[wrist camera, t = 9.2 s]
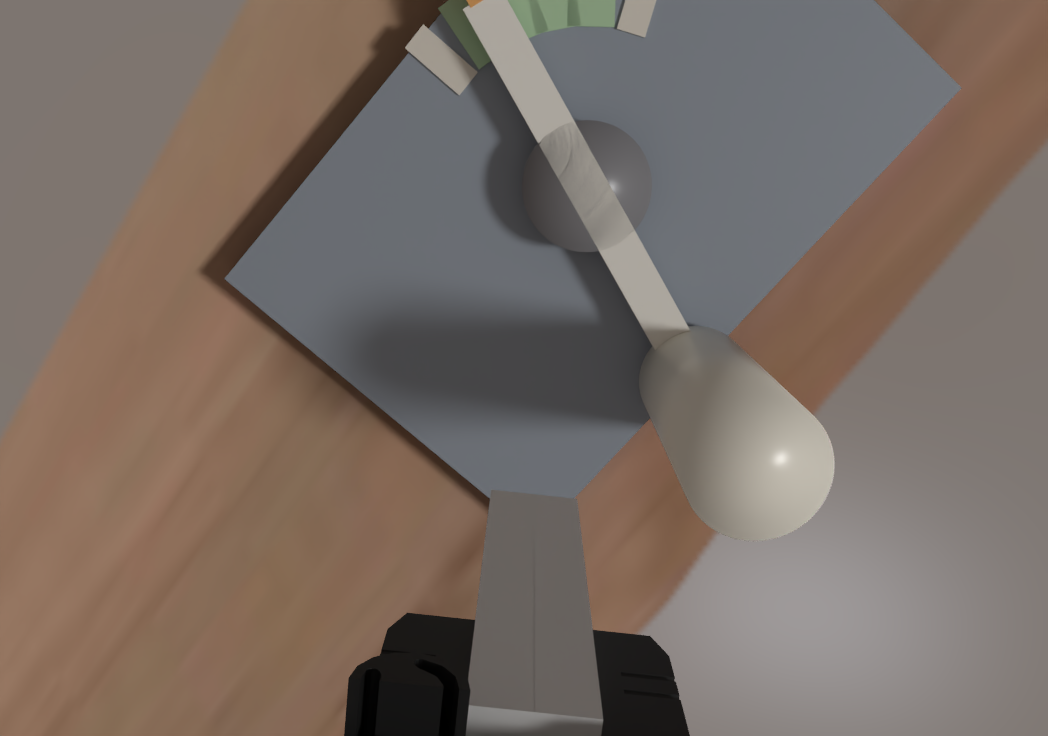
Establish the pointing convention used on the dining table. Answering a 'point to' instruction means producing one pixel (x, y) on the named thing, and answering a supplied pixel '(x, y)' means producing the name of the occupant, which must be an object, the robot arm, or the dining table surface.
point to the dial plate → (560, 274)
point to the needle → (662, 314)
